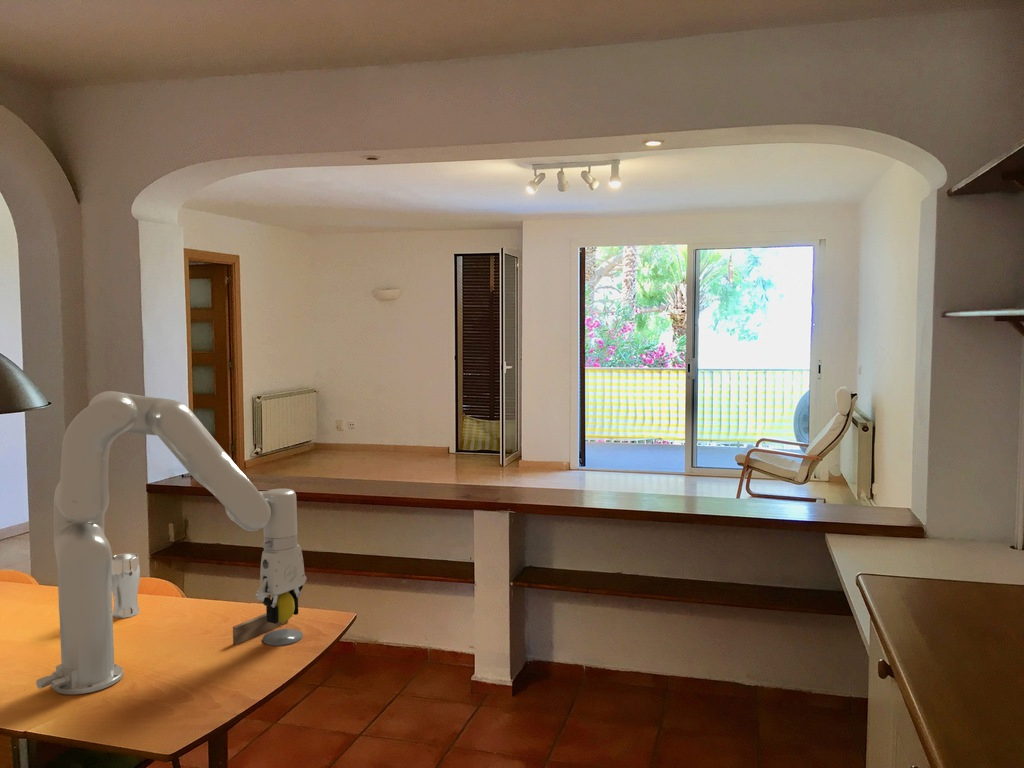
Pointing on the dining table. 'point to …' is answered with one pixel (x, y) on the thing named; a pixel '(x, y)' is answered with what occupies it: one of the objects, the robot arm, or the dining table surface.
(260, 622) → the walnut wall
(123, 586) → the beer glass
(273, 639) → the coaster
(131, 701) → the dining table surface
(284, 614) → the lemon
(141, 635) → the dining table surface
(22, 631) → the dining table surface
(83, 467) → the robot arm
